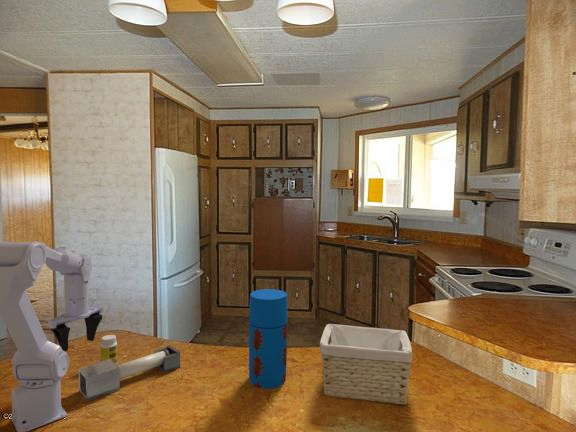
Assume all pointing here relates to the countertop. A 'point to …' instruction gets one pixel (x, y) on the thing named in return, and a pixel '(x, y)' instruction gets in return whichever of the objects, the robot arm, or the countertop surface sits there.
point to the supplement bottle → (108, 348)
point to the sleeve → (99, 379)
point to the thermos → (268, 338)
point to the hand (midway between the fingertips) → (77, 345)
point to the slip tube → (142, 364)
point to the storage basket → (366, 363)
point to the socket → (170, 359)
